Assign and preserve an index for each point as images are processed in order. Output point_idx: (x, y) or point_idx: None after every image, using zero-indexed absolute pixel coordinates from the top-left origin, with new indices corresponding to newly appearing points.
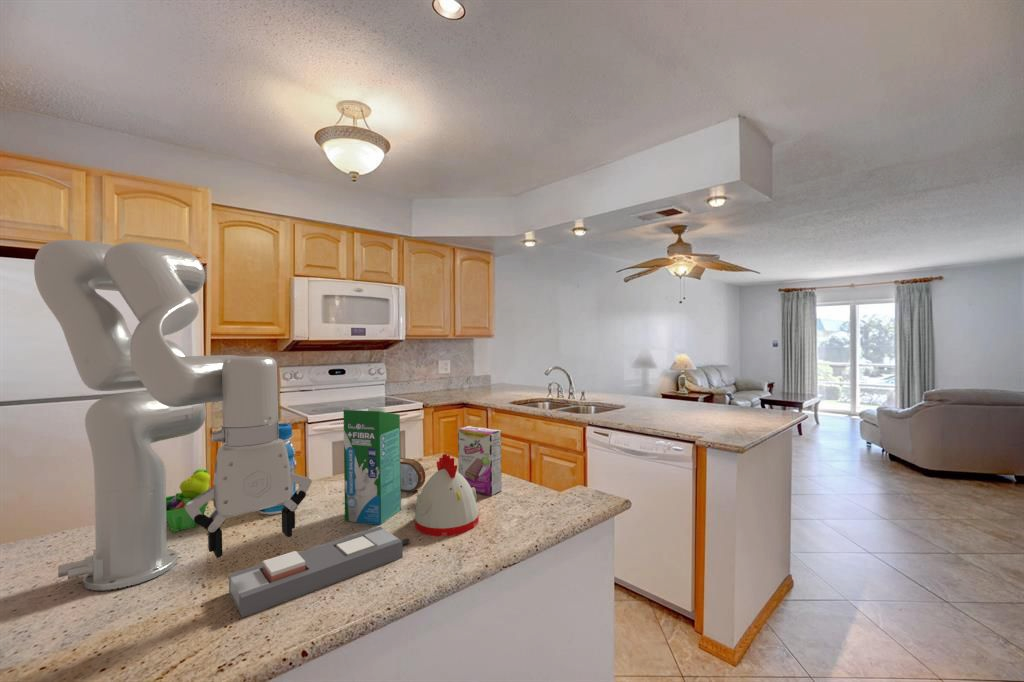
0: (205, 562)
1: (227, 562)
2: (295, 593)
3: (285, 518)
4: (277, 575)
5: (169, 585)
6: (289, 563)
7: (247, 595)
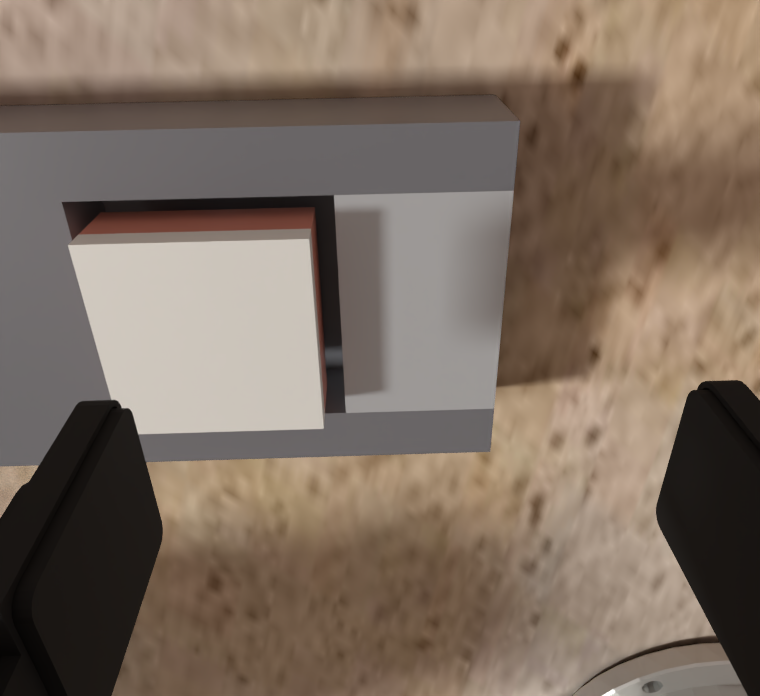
0: (479, 663)
1: (412, 623)
2: (193, 108)
3: (77, 582)
4: (273, 224)
5: (629, 581)
6: (178, 287)
7: (484, 123)
